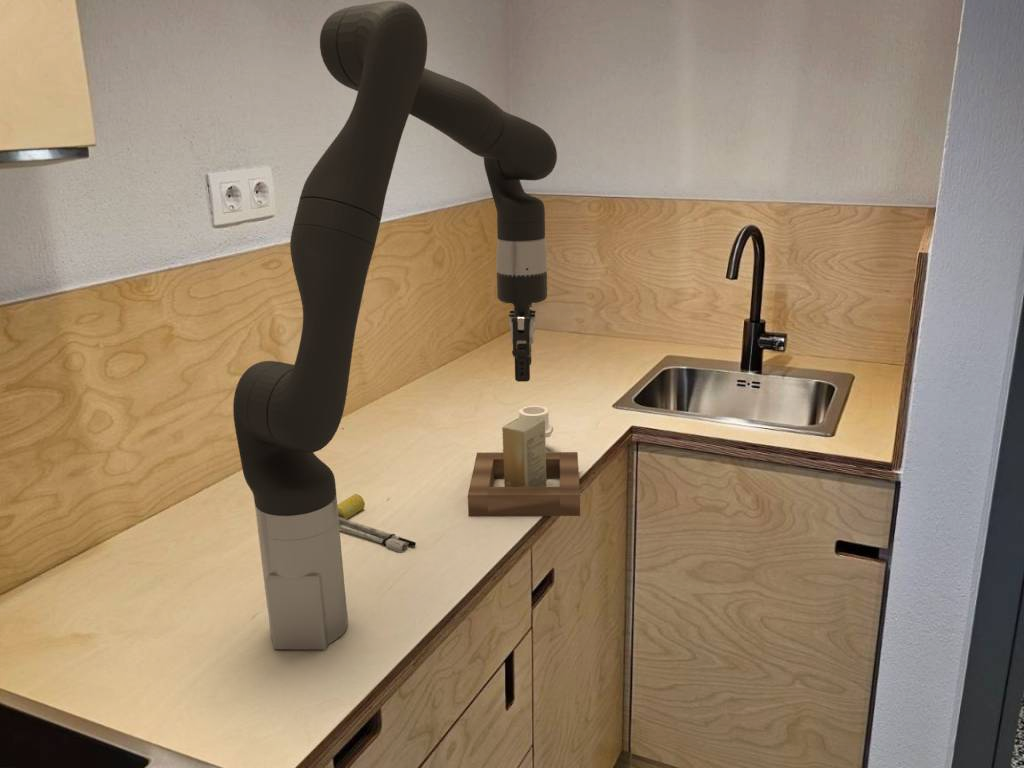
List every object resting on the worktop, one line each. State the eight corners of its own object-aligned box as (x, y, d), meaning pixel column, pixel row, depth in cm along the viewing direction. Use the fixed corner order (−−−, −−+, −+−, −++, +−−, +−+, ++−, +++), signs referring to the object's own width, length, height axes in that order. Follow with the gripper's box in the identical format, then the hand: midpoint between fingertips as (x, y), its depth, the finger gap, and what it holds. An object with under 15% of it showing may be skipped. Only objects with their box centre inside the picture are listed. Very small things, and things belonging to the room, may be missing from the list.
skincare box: (525, 483, 148) (524, 414, 144) (547, 489, 145) (546, 418, 142) (502, 497, 143) (500, 425, 139) (525, 504, 140) (523, 431, 137)
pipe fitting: (559, 456, 159) (559, 413, 156) (521, 461, 157) (520, 418, 154) (547, 443, 164) (546, 402, 162) (510, 449, 162) (508, 407, 160)
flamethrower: (298, 489, 148) (252, 515, 140) (296, 474, 147) (249, 500, 139) (440, 533, 133) (397, 566, 125) (439, 518, 132) (395, 549, 124)
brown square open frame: (580, 515, 136) (580, 494, 135) (468, 516, 137) (467, 495, 136) (577, 471, 152) (577, 452, 151) (477, 471, 153) (477, 452, 152)
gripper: (546, 277, 126) (547, 386, 131) (547, 260, 140) (548, 359, 145) (493, 277, 127) (496, 387, 132) (499, 260, 140) (501, 360, 145)
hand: (523, 372), depth 138 cm, fingers open, 8 cm apart
